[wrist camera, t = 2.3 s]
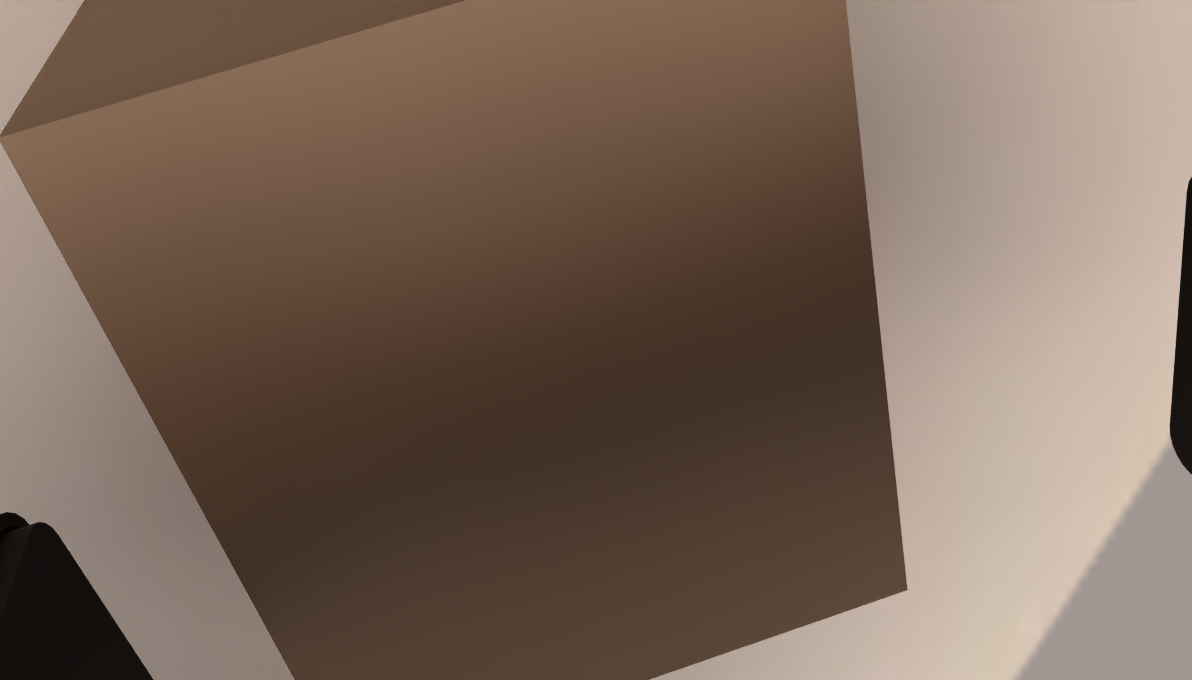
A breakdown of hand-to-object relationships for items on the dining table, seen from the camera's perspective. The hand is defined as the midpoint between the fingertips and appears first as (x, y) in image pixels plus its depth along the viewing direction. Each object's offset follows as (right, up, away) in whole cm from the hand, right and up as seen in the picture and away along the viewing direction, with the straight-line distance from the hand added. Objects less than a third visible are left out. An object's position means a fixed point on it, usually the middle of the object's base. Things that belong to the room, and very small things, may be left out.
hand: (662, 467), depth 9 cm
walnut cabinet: (-3, +5, +7) cm, 9 cm away
